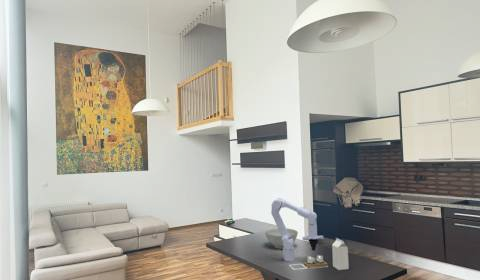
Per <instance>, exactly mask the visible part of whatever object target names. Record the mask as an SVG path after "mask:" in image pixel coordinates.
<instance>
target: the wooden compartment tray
mask: <svg viewBox="0 0 480 280" xmlns="http://www.w3.org/2000/svg"><path fill="white" fill-rule="evenodd" d="M303 265H304V266H305V267H306V268H307V269H306V270H310V269H319V268H320V269H321V268H328V267H329V266H328V263H327V262H326V261H325V260H323V263H322V264H317V261H313V264H312V265H309V264H307V261H303Z"/></svg>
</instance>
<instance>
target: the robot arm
mask: <svg viewBox="0 0 480 280" xmlns="http://www.w3.org/2000/svg"><path fill="white" fill-rule="evenodd" d="M284 208H287V209H290V210H292V211H294V212H296V214H297V215H298V216H301V217H302V218H304V219H307V224H308V226H307V227H308V229H307V230H308V235H307V236H302V241H308V242H309V244H310V247H311V250H312V251H316V249H317V248H316V247H317V244H318V243H319V240H324V235H318V224H317V218H318V217H317V216H318V215H317V213H316V212H315V211H311V210H308V209H306V207H305V206H303V207H302V206H300V207H298V206H297V205H295V204H292V203H291V202H289V201H287V200H286V199H283V198H280V197H279V198H277V199H275V200H273V202H272V204H271V211H270V213H271V216H272V218H273V220H274V222H275V224H276V226H277V228H278V229H279V231H280V233H281V236H282V241H283V246H284V248H283V249H282V259H284V261H285V262H294V261H295V259H296V258H295V246H294V245H295V241H294V239H293V238H292V237H291V236H290V234H289V233H288V231H287V229H288V228H287V227H286V225H285V223H284V221H283V218H282V216H281V214H280V211H281V209H284Z"/></svg>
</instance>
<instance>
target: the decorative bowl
mask: <svg viewBox="0 0 480 280" xmlns="http://www.w3.org/2000/svg"><path fill="white" fill-rule="evenodd" d="M286 229H287V231H288V233H289V234H290V236H291V237H292V238H293V239H294V242H296V240H297V237H298V233H299V232H298V231H297V230H295V229H291V228H286ZM264 234H265V237H266V239H267V240H268V242H269V243H270V244H271V245H273V247H274V248H276V249H279V250H280V249H281V250H283V248H284V246H283V241H282V236H281V233H280V231H279V229H278V227H277V228H271V229H266V230H265V231H264Z"/></svg>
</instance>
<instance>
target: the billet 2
mask: <svg viewBox="0 0 480 280" xmlns="http://www.w3.org/2000/svg"><path fill="white" fill-rule="evenodd" d="M323 256H324V255H323V254H322V255H321V254H318V255H316V258H317V264H322V263H323V261H324V257H323Z"/></svg>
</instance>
